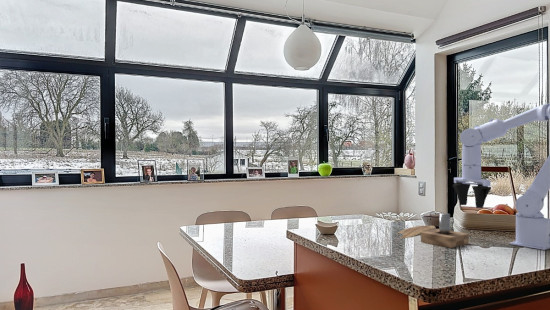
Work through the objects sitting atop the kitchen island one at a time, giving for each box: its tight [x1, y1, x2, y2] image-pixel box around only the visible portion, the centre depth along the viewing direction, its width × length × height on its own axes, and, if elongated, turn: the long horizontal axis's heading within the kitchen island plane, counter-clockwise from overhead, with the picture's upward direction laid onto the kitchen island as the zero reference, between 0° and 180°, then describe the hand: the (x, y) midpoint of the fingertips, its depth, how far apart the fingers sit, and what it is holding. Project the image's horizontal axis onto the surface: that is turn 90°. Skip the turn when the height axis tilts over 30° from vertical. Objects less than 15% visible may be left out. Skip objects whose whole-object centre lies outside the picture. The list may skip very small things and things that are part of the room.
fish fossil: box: [397, 225, 437, 239], centre depth 142 cm, size 26×10×1 cm, turn 142°
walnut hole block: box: [420, 228, 470, 249], centre depth 125 cm, size 10×10×3 cm
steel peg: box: [438, 212, 451, 235], centre depth 125 cm, size 3×3×9 cm
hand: (471, 206), depth 133 cm, fingers open, 7 cm apart
